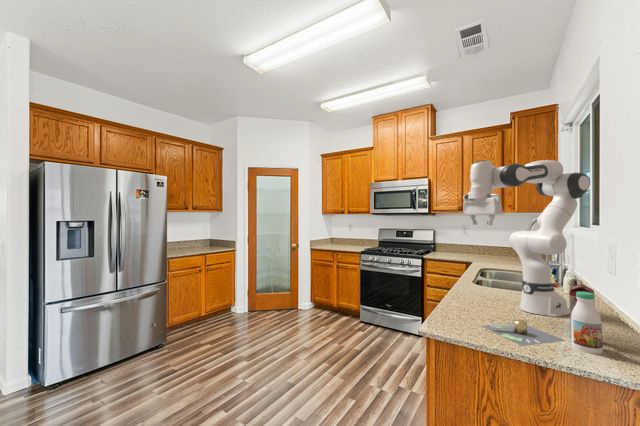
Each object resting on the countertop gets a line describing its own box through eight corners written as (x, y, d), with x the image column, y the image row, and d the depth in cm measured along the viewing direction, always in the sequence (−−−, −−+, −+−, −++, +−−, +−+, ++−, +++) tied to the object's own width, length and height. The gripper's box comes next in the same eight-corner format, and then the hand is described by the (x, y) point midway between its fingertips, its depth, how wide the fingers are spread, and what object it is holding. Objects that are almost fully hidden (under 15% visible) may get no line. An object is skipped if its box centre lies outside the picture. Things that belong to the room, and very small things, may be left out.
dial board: (519, 324, 122) (519, 321, 122) (565, 343, 104) (565, 340, 104) (480, 328, 118) (480, 325, 118) (520, 349, 100) (520, 345, 100)
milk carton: (570, 341, 106) (569, 281, 106) (571, 335, 110) (569, 278, 111) (595, 346, 101) (593, 284, 101) (595, 340, 106) (593, 281, 106)
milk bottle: (565, 347, 101) (564, 290, 101) (585, 346, 101) (584, 289, 102) (588, 358, 93) (586, 296, 93) (609, 356, 94) (607, 295, 94)
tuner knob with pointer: (525, 330, 112) (524, 320, 112) (529, 334, 108) (528, 324, 108) (489, 327, 116) (489, 317, 116) (492, 331, 112) (492, 320, 112)
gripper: (505, 193, 124) (506, 225, 123) (471, 196, 144) (472, 224, 144) (493, 193, 123) (493, 225, 122) (460, 196, 143) (461, 224, 142)
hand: (481, 224), depth 133 cm, fingers open, 8 cm apart
